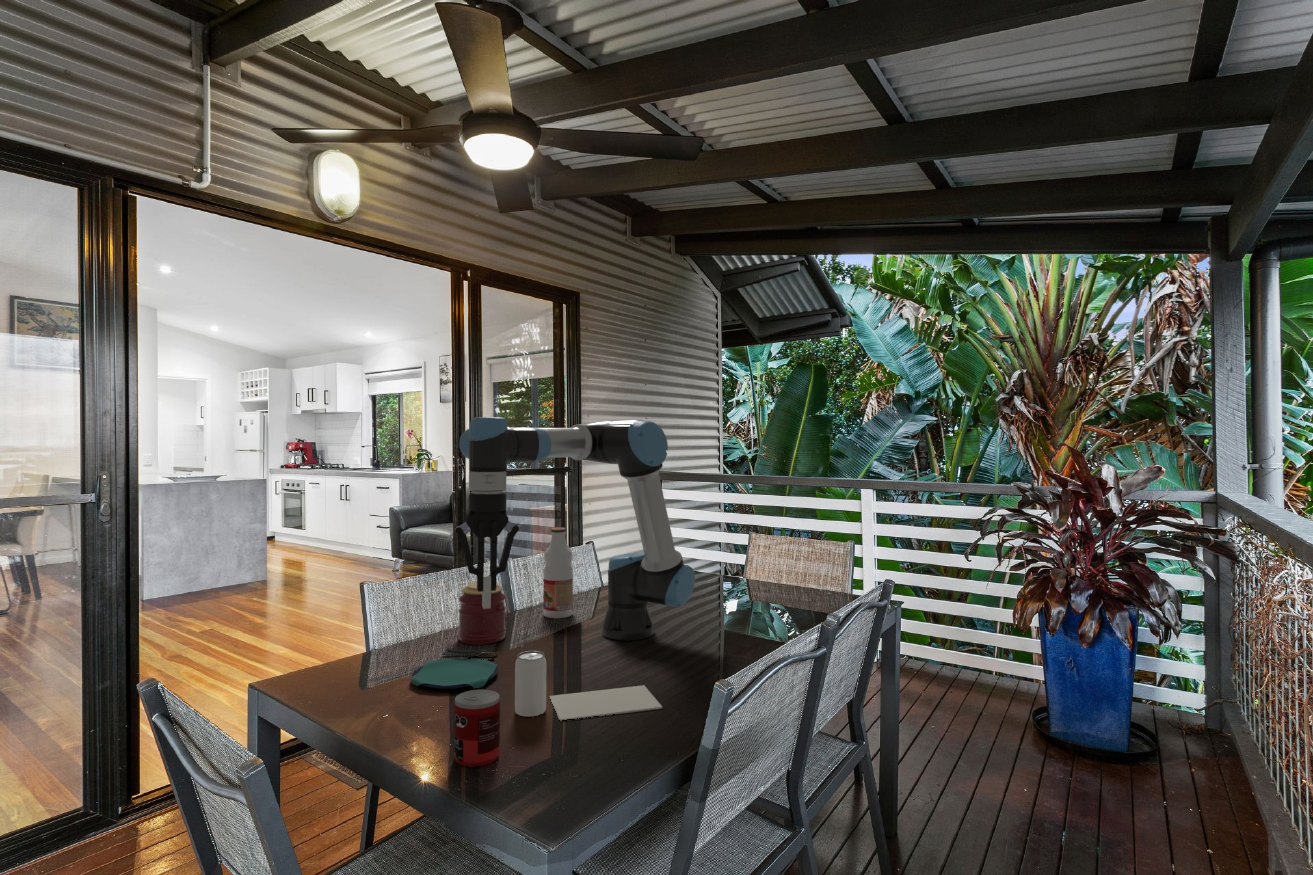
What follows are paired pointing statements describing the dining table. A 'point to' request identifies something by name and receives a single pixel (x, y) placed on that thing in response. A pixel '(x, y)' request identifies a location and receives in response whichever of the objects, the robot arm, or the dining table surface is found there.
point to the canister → (481, 617)
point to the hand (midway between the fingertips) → (486, 606)
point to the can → (530, 683)
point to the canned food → (476, 727)
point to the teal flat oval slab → (455, 671)
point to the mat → (604, 702)
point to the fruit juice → (558, 577)
